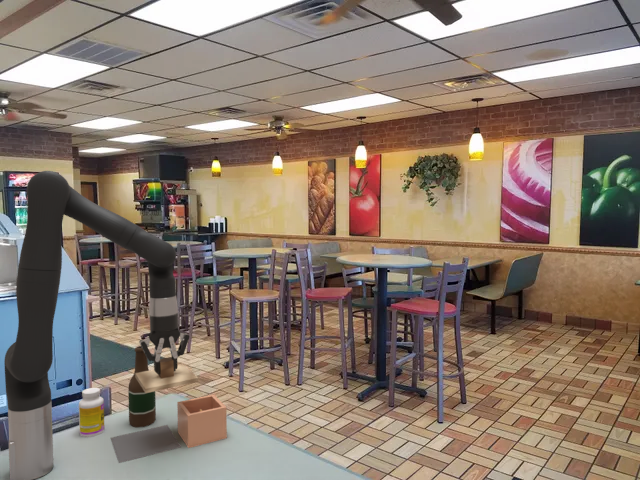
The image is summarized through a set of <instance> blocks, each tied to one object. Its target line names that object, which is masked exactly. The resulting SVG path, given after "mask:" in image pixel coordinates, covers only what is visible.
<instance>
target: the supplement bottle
mask: <svg viewBox="0 0 640 480" xmlns="http://www.w3.org/2000/svg"><path fill="white" fill-rule="evenodd" d="M81 393H82V394H81V397H82V399H81V400H80V401H79V402H78V420H79V422H78V423H79V426H78V427H79V435H80V437H82V438H83V437H84V438H89V437H90V438H91V437H95V436H98V435H101V434H102V433H103V432H104V431H105V403H104V402H105V401H104V398H103V397H102V396H100V394H101V389H100V388H99V387H90V388H86V389H85V388H84V390H82V392H81Z"/></svg>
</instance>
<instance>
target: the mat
mask: <svg viewBox="0 0 640 480" xmlns="http://www.w3.org/2000/svg"><path fill="white" fill-rule="evenodd" d="M170 428H171V427H170V426H169V425H168V424H164V425H161V426H156V427H151V428H147V429H142V430H138V431H135V432H130V433H125V434H121V435H117V436H112V437H110V441H111V445H112V447H113V450H114V453H115V456H116V458H117V459H116V460H117V462H118V464H121V463H125V462H129V461H132V460H137V459H141V458H144V457H147V456H148V457H149V456H153V455H157V454H160V453H163V452H167V451H171V450H176V449H179V448H182V445H181V444H180V442H179V441H178V440H177V438H176V436H175V435H174V433H173V431H172V429H170Z"/></svg>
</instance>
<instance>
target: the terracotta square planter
mask: <svg viewBox="0 0 640 480" xmlns="http://www.w3.org/2000/svg"><path fill="white" fill-rule="evenodd" d="M200 409H201V410H202V411H200ZM176 410H177V433H178V435H179V437H181V440H182V441H183V442H184V444H185V445H186V447H187V449H191V448H194V447H197V446H201V445H206V444H210V443H213V442H216V441H220V440H225V439H228V434H227V433H228V432H227V427H228V425H227V419H228V418H227V406H226V405H225V404H224V403H223V402H222V401H221V400H220V399H219V398H218V397H217V396H216V395H215V394H209V395H204V396H201V397H199V396H198V397H195V398H191V399H186V400H180V401H177V409H176ZM199 411H200V412H199Z"/></svg>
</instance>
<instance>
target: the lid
mask: <svg viewBox="0 0 640 480" xmlns="http://www.w3.org/2000/svg"><path fill="white" fill-rule="evenodd" d="M159 361H160V373H161V374H159V375H158V374H157V373H156V372H155V371H154V369H151V370H150V369H149V371H144V372H139V373H135V378H136V379H137V381H138V382H139V384H140V385H141V387H142V388H143V390H144V391H145V393H149V392H154V391H155V392H158V391H162V390H168V389H173V388H177V387H180V386H187V385H191V384H196V383H198V382H199V377H198V376H197V375H196V374H195V373H194V372H192V370H191V369H190V368H189V367H188V366H187V365H186V364H185V363H181V364H178V367H177V369H176V371H175V372H174V364H173V360H172V359H171V356H170V357H169V356H168V357H163V358H160V360H159Z"/></svg>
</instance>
